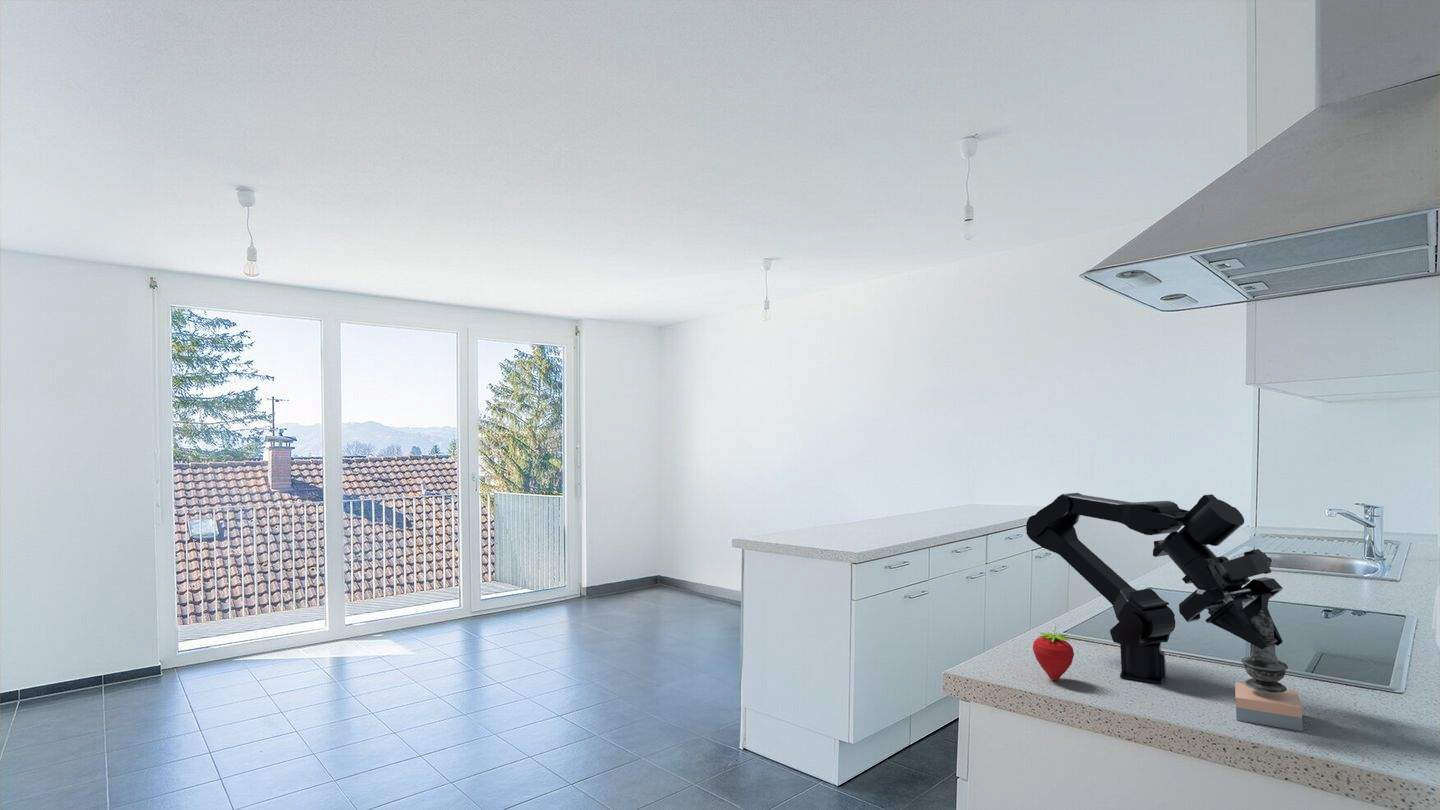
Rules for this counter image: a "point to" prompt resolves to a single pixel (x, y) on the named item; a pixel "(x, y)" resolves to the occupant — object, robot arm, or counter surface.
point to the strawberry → (1053, 654)
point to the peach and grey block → (1268, 707)
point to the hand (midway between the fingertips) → (1272, 645)
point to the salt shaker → (1264, 659)
